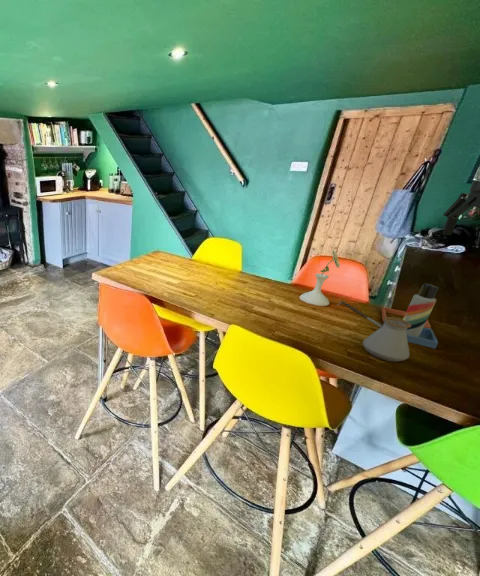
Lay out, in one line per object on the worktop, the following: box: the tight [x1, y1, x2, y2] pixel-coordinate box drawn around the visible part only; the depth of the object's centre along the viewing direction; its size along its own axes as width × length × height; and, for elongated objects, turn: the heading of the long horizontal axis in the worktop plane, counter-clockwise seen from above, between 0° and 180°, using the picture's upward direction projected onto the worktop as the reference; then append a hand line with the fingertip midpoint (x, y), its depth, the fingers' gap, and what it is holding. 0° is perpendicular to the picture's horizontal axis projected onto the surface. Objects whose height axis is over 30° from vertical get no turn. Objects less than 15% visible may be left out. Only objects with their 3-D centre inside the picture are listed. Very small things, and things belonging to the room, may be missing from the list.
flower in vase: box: [299, 250, 341, 307], centre depth 135 cm, size 13×11×25 cm
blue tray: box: [382, 321, 439, 350], centre depth 111 cm, size 13×12×2 cm
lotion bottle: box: [402, 282, 439, 337], centre depth 108 cm, size 6×6×20 cm
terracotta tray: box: [380, 306, 432, 329], centre depth 121 cm, size 13×12×2 cm
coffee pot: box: [337, 300, 411, 362], centre depth 100 cm, size 21×12×15 cm, turn 44°
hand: (463, 238), depth 116 cm, fingers open, 13 cm apart
